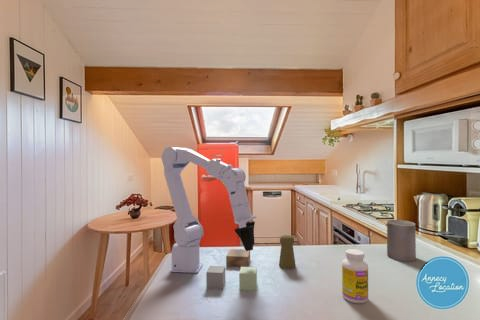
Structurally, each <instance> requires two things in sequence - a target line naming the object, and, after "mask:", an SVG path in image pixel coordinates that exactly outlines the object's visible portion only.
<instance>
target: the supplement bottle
mask: <svg viewBox="0 0 480 320" xmlns="http://www.w3.org/2000/svg"><path fill="white" fill-rule="evenodd" d="M345 257H346V258H344V259H343V260H342V263H341V266H342V267H341V270H342V271H341V274H342V276H341V278H342V280H341V281H342V283H341V286H342V290H341V291H342V292H341V293H342V296H343V298H344V299H345V300H346V301H348V302H351V303H353V304H365V303H367V302H368V300H369V266H368V265H369V264H368V263H367V262H366V261H365V260H364V259H365V252H364V251H362V250H360V249H355V248H354V249H353V248H352V249H351V248H349V249H346V250H345Z"/></svg>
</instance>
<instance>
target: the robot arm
mask: <svg viewBox="0 0 480 320" xmlns="http://www.w3.org/2000/svg"><path fill="white" fill-rule="evenodd" d="M160 157H161V161H162V165H163V175H164V178H165V182H166V185H167V189H168V192H169V195H170V199H171V202H172V206H173V209H174V212H175V216H176V221H175V223H174V224H173V231H174V233H173V235H174V236H173V237H174V241H175V242H176V243H174V244H173V245H172V248H171V270H170V272H171V273H187V274H188V273H189V274H193V273H195V274H196V273H198V272H199V271H200V269H201V268H202V266H203V265H204V263H203V262H200V260H201V259H200V257H201V256H200V255H201V254H200V242H201V239H202V237H203V236H204V233H205V232H204V227H203V225H202V224H201V222H200V221H199V219H198V217H196V216H195V215H194V214H192V209H191V207H190V203H189V199H188V197H187V193H186V190H185V186H184V182H183V180H182V177H181V174H182V172H183V171H184V170H185V168H186V167H187V166H188V165H189V164H190V163H192V164H194V165H196V166H198V167H201V168H203V169H205V172H206V174H208V175H209V176H212V177H213V178H214V179H217V180H219V181H221V183H222V184H223V186H225V188H226V192H227V193H228V196H229V197H228V199H229V202H230V206H231V211H232V214H233V219H234V224H237V225H238V226H237V228H234V232H235V233H236V235H237V236H238V238H239V239H240V241H241V243H242V245H243V248H244V250H246V251H250V252H251V251H252V250H254V245H255V225H256V221H255V220H254V219H256V218H257V215H252V211H251V209H252V208H251V206H250V202H249V197H248V194H247V190H246V185H245V181H246V178H247V177H246V173H245V171H244V170H243V169H242V168H240V167H233V164H227V163H225V162H223V161H222V159H221V158H212V159H209V158H207V157H205V156H204V155H202V154H200V153H199V152H197V151H194V149H191V148H188V147H175V146H174V147H173V146H167V147H165V148H164V150H163V152H162V154H161V156H160ZM253 220H254V221H253Z"/></svg>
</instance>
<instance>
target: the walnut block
mask: <svg viewBox="0 0 480 320" xmlns="http://www.w3.org/2000/svg"><path fill="white" fill-rule="evenodd" d="M225 257H226V258H225V259H226V260H225V262H226V265H225V267H230V268H231V267H234V268H235V267H236V268H241V267H250V266H249V265H250V261H251V250H250V251H246V250H245V249H239V248H237V249H236V248H235V249H234V248H229V250H228V252H227V254H226V256H225Z"/></svg>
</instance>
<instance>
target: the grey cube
mask: <svg viewBox="0 0 480 320" xmlns="http://www.w3.org/2000/svg"><path fill="white" fill-rule="evenodd" d="M205 272H206V277H205V278H206V281H205V282H206V283H205V284H206V289H208V290H214V289H215V290H224V288H225V283H226V265H224V266H223V265H209V267H208V268H207V270H206V271H205Z"/></svg>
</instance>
